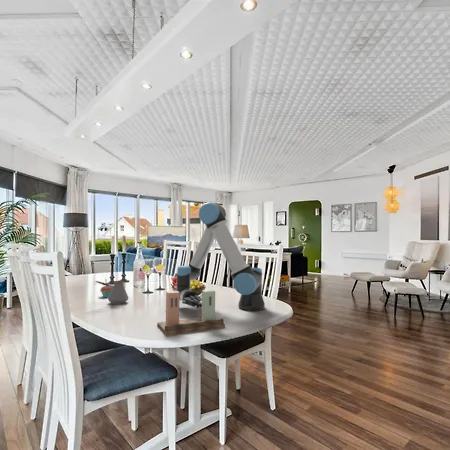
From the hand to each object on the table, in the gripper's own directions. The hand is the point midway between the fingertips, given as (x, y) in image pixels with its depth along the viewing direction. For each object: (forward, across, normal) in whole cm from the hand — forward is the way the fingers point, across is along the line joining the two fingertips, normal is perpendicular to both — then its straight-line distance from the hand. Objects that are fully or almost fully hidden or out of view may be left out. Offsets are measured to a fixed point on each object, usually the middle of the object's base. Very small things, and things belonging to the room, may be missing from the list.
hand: (205, 306), depth 141 cm
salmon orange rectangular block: (-1, +16, -6) cm, 17 cm away
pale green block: (+2, 0, -6) cm, 7 cm away
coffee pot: (-58, +36, -8) cm, 69 cm away
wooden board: (+1, +8, -8) cm, 11 cm away
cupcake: (-83, +36, -8) cm, 91 cm away
